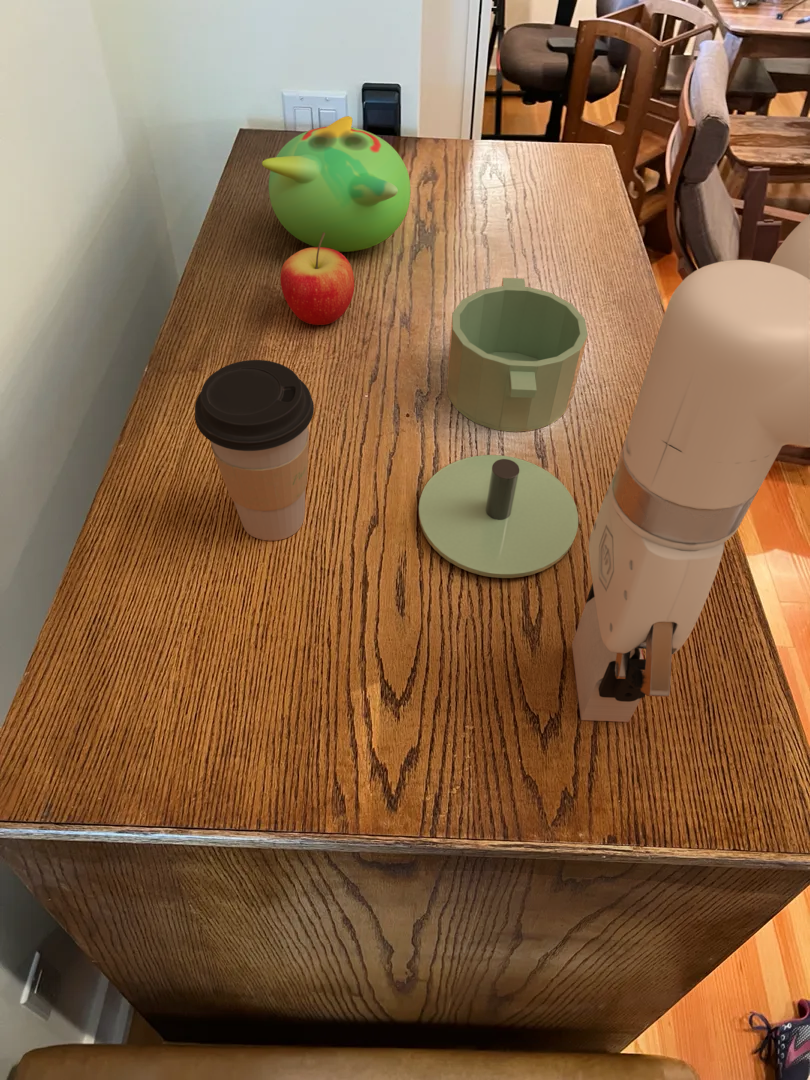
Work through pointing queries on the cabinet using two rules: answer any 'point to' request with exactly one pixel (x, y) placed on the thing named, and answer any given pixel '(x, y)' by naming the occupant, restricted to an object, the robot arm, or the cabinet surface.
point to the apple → (317, 284)
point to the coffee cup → (260, 442)
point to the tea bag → (597, 671)
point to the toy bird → (339, 187)
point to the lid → (498, 516)
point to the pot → (514, 356)
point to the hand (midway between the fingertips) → (613, 647)
